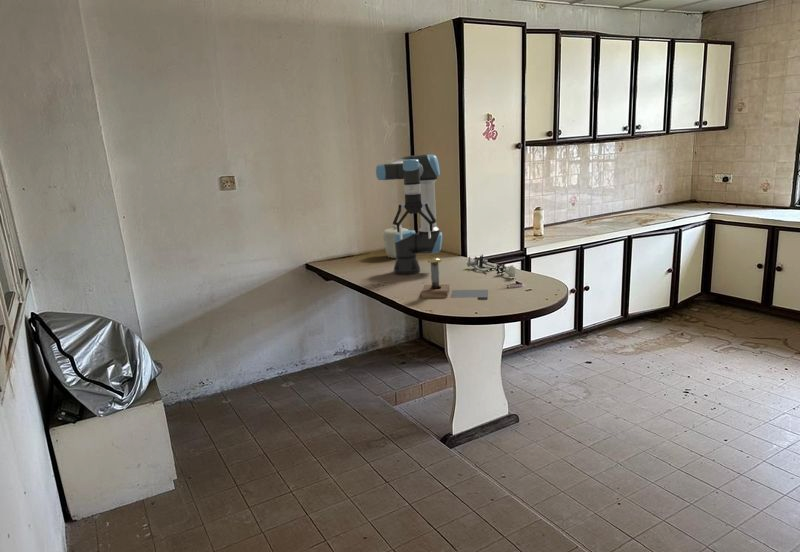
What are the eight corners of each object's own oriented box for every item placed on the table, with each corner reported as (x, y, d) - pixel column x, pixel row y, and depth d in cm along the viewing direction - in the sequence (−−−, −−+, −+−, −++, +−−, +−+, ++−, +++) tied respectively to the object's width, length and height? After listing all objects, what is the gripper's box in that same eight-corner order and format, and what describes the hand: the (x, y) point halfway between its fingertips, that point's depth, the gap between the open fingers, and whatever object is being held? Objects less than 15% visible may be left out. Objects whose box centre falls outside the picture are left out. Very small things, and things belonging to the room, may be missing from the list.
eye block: (425, 292, 275) (424, 284, 274) (449, 292, 273) (449, 284, 272) (421, 299, 264) (421, 291, 263) (447, 299, 261) (447, 291, 261)
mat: (452, 292, 273) (452, 290, 273) (488, 291, 270) (487, 289, 270) (450, 299, 261) (450, 297, 260) (487, 299, 258) (487, 297, 257)
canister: (401, 260, 350) (399, 227, 345) (378, 258, 360) (375, 226, 355) (416, 254, 365) (414, 222, 360) (393, 253, 375) (391, 221, 370)
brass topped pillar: (430, 292, 272) (428, 257, 268) (443, 291, 271) (441, 257, 266) (428, 295, 266) (426, 260, 261) (441, 295, 264) (440, 260, 260)
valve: (519, 278, 292) (505, 273, 302) (519, 265, 290) (505, 261, 301) (509, 280, 289) (495, 275, 299) (509, 267, 287) (495, 263, 298)
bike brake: (464, 267, 319) (486, 278, 303) (464, 256, 317) (487, 267, 301) (482, 263, 326) (505, 274, 310) (483, 252, 323) (506, 263, 307)
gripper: (384, 195, 257) (388, 241, 263) (438, 193, 253) (441, 239, 258) (387, 193, 265) (391, 237, 270) (440, 191, 260) (442, 236, 265)
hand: (415, 238), depth 264 cm, fingers open, 13 cm apart
